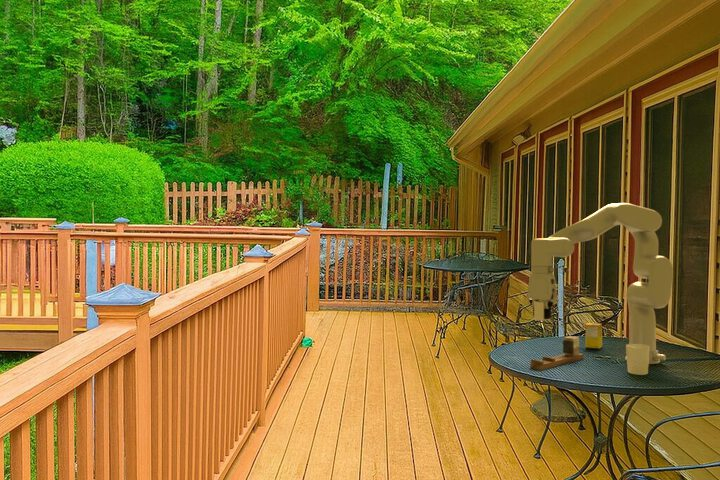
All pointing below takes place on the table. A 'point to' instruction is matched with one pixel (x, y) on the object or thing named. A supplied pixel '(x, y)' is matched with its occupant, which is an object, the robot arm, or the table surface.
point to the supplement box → (593, 336)
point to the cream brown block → (539, 310)
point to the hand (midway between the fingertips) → (541, 317)
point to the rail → (570, 355)
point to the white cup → (637, 358)
